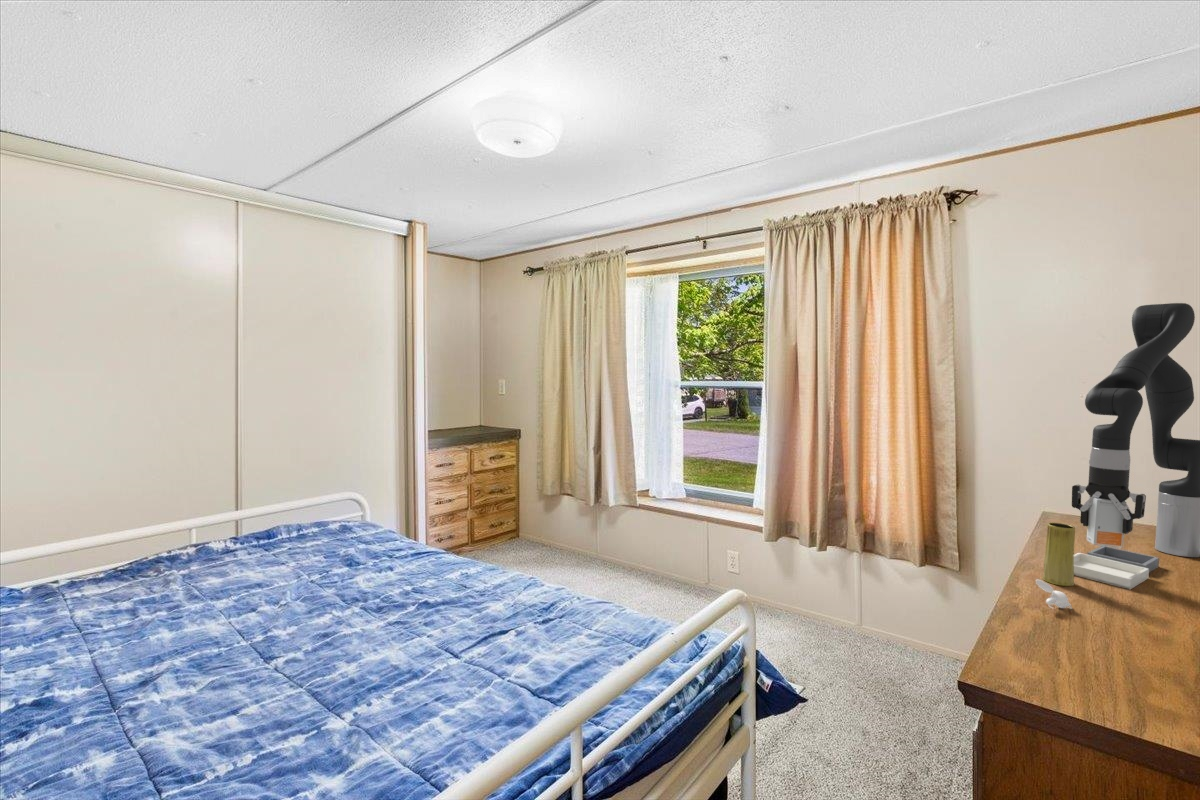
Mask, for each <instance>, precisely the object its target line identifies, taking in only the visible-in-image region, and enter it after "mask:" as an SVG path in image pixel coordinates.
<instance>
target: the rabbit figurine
mask: <svg viewBox="0 0 1200 800" xmlns="http://www.w3.org/2000/svg"><path fill="white" fill-rule="evenodd" d="M1035 583H1036V586H1038V587H1039V588H1040V589H1041V590H1043V591H1044V592H1046V593H1049V594H1051V595H1050V596H1049V597H1048V598H1046V599H1045V603H1046V605H1048V607H1049V608H1050V609H1052V610H1054V607H1053V606H1051V605H1055V606H1056V607H1057V608H1060V609H1067V608H1069V610H1073V606H1071V603H1070V601H1069V598H1068V596H1067V594H1066V593H1064V592H1062V591H1059V590H1054V587H1053V586H1051V585H1050V583H1048V582H1046V581H1043V579H1035Z"/></svg>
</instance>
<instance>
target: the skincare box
mask: <svg viewBox="0 0 1200 800" xmlns="http://www.w3.org/2000/svg"><path fill="white" fill-rule="evenodd" d="M1090 498H1091V497H1090V496H1089V499H1090ZM1121 504H1122V505H1123V506H1126V504H1127V501H1126V500H1125V501H1123V502H1122V503H1121ZM1123 519H1125V518H1124V516H1123V515H1122V513H1121V512H1120V511H1119V510H1118V509H1117V507H1116V506H1115V505H1114V503H1113V502H1112V501H1111V500H1107V499H1101V498H1093V504H1092V505H1091V506H1090V508H1089V513H1088V526H1086V527H1087V529H1086V541H1087V542H1089V543H1090V544H1091V545H1093V546H1100V547H1101V546H1107V547H1112V548H1117V549H1123V547H1124V537H1125V534H1123V533H1122V530H1123Z"/></svg>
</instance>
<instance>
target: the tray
mask: <svg viewBox="0 0 1200 800" xmlns="http://www.w3.org/2000/svg"><path fill="white" fill-rule="evenodd" d="M1149 574H1150V572H1149V569H1148V568H1144V567H1140V566H1135V565H1131V564H1127V563H1122V562H1118V561H1113V560H1109V559H1105V558H1100V557H1096V556H1092V555H1087V554H1086V553H1081V552H1076V553H1074V577H1075V576H1076V577H1080V578H1083V579H1088V580H1091V581H1095V582H1097V583H1099V582H1100V583H1103V584H1106V585H1111V586H1114V587H1119V588H1123V589H1125V590H1131V589H1132V590H1133V588H1135V587H1136V586H1138V585H1140V584H1141V583H1143V582H1145V581H1146V580H1148V579H1149Z"/></svg>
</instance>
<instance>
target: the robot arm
mask: <svg viewBox="0 0 1200 800" xmlns="http://www.w3.org/2000/svg"><path fill="white" fill-rule="evenodd" d="M1195 319H1196V316H1195V310H1194V308H1193V307H1192V306H1191V305H1190V304H1189V303H1185V302H1173V303H1171V302H1169V303H1158V304H1157V303H1154V304H1152V303H1151V304H1145V305H1139V306H1138V307H1136V308H1135V309H1134V310H1133V313H1132V317H1131V327H1132V328H1131V329H1132V332H1133V336H1134V339H1135V342H1136V346H1137V347H1136V348H1134V349H1133V350H1131V351H1129V352H1127V353H1126V354H1125V355H1123V356H1122V357H1121V359H1120V360H1118V362H1117V364H1116V365H1115V367H1114V368H1113V370H1112V372H1111V373H1110V374H1109V375H1107V376H1106V377H1105V378H1103V379H1102V380H1101V381H1099V382H1098V383H1097V384H1096V385H1094V386H1093V387H1092V388H1091V389H1090V390H1088V393H1087V394H1086V396H1085V398H1084V406H1085V409H1087V411H1088V412H1089V413H1092V414H1093V415H1100V416H1113V417H1115V416H1116V417H1117V418H1116V420H1115V421H1114V422H1113V423H1105V424H1098V425H1096V426H1094V427H1093V430H1092V439H1091V441H1092V442H1091V451H1090V455H1089V460H1088V464H1089V465H1088V467H1089V469H1088V470H1089V471H1088V483H1087V485H1080V484H1075V485H1072V486H1071V507H1072V508H1074V509H1077V510H1079V512H1080V519H1079V520H1080V524H1082V526H1084V527H1088V513H1089V508H1090V506H1091V505H1092V504H1093V498H1101V499H1107V500H1111V501H1112V502H1113V503H1114V505H1115V506H1116V507H1117V509H1118V510H1119V511H1120V512H1121V513H1122V515H1123V516H1124V518H1125V519H1123V530H1122V533H1123V534H1124V535H1128V534H1129V533H1131V532H1132V531H1133V528H1134V520H1137V519H1141V518H1144V517H1145V509H1146V501H1147V500H1146V498H1147V496H1146V494H1145V493H1140V494H1139V493H1134V492H1131V491H1130V489H1129V485H1130V472H1131V471H1130V469H1131V468H1130V467H1131V453H1130V449H1131V448H1130V446H1131V436H1132V431H1133V429H1134V426H1135V424H1136V420H1137V418H1138V417H1139V415H1140V412H1141V410H1142V408H1143V404H1144V399H1143V395H1142V394H1141V393H1140V392H1139V391H1141V390H1142V389H1143V388H1144V389H1145V394H1146V395H1145V396H1146V401H1147V405H1148V410H1149V416H1150V420H1151V433H1152V434H1151V435H1152V455H1153V460H1154V463H1155V464H1156V465H1157V467H1159V468H1162V469H1167V470H1174V471H1181V472H1187V475H1186V476H1185V477H1182V478H1180V479H1173V480H1172V479H1171V480H1164V481H1161V482H1160V483H1159V484H1158V497H1157V509H1156V510H1157V511H1156V512H1157V513H1156V525H1155V526H1156V527H1155V538H1154V539H1155V542H1154V549H1155V550H1156V551H1159V552H1162V553H1165V554H1167V555H1174V556H1177V557H1179V556H1180V557H1186V558H1200V439H1192V438H1181V437H1180V438H1178V437H1173V436H1172V429H1173V427H1174V425H1175V424H1176V422H1177V421H1178V420H1179V419H1180V418H1181V417H1182V416H1183V415H1184V414H1185V413H1186V412H1187V411H1188V410H1189V409H1190V408H1191V406H1192V405H1193V403H1194V400H1195V392H1194V385H1193V379H1192V377H1191V375H1190V373H1188V371H1187V370H1186V369H1185V368H1184V367H1183V366H1182V365H1180V364H1179V362H1177V361H1176V360H1174V358H1172V357H1171V356H1170V355H1169V354H1170V353H1172V352H1173V350H1174V349H1175V348H1176V347H1177V346H1178V345H1180V343H1182V341H1183V340H1184V339H1186V337H1187V336H1188V335H1189V334H1190V332H1191V331H1192V329H1193V327H1194V324H1195ZM1085 492H1087V493H1086V494H1088V496H1089V498H1088V500H1087V501H1086V502H1085V503H1084V504H1082V494H1084V493H1085ZM1090 497H1091V498H1090ZM1129 498H1130V499H1132V500H1131V501H1132V502H1133V503H1135V504H1134V513H1133V512H1132V511H1131V510H1130V507H1129V505H1128V504H1127V503H1126V506H1123V505H1122V504H1121V503H1122V502H1123V501H1125V502H1126V501H1127V500H1128V499H1129Z"/></svg>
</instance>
